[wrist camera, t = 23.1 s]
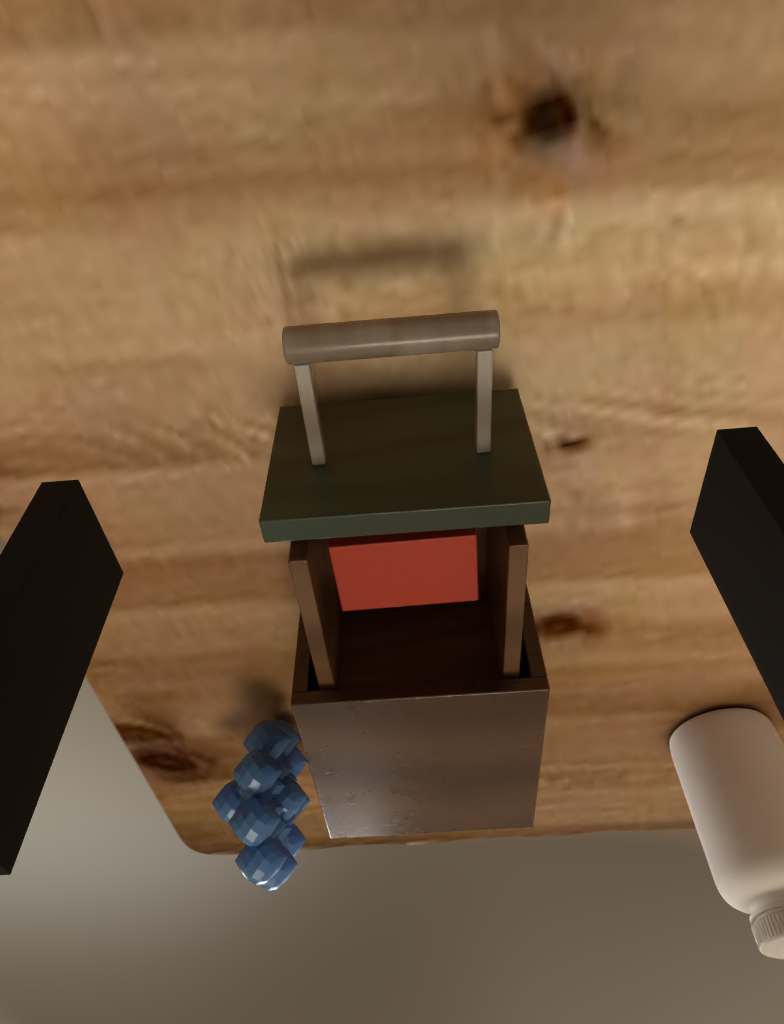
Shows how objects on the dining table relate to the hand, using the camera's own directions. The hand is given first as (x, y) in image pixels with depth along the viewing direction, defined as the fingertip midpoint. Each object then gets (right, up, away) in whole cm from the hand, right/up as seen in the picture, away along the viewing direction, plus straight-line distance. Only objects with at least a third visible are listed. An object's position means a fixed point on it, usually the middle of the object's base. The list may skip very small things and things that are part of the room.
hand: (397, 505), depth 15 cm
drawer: (0, +3, +21) cm, 21 cm away
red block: (0, +1, +21) cm, 21 cm away
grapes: (-9, -16, +39) cm, 43 cm away
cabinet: (+2, -8, +32) cm, 33 cm away
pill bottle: (+26, -17, +41) cm, 51 cm away
